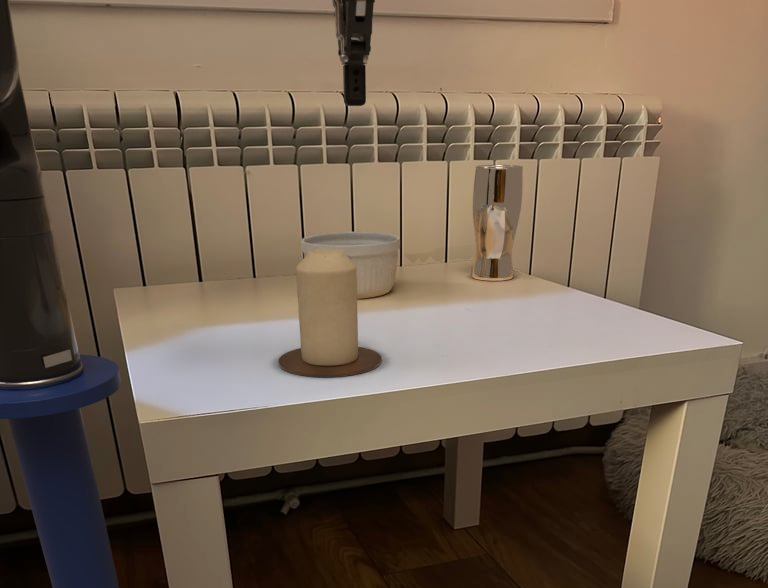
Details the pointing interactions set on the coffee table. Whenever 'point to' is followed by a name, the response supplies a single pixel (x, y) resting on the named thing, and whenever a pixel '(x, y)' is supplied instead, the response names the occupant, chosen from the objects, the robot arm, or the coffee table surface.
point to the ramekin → (363, 257)
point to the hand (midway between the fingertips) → (354, 105)
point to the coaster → (362, 364)
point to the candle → (327, 308)
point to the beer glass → (496, 219)
